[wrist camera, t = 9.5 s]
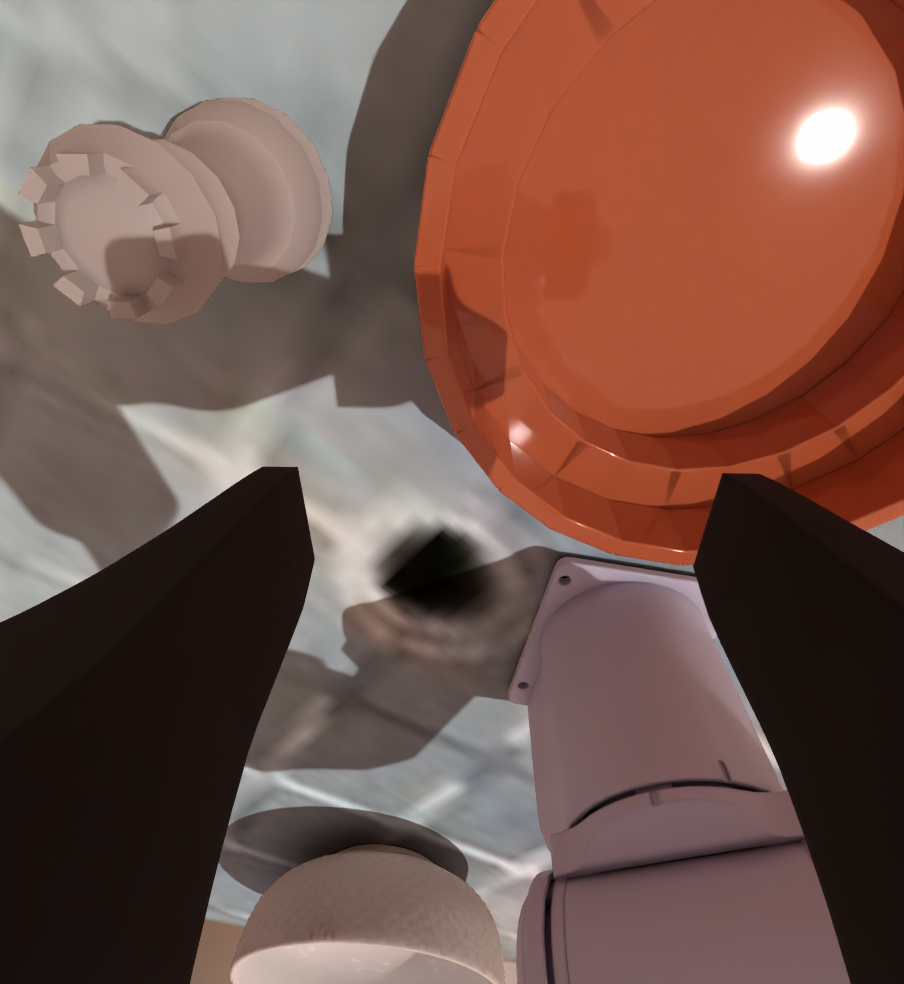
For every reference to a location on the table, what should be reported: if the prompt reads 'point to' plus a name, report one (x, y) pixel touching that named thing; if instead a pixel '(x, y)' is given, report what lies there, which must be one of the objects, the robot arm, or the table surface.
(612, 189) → the terracotta bowl
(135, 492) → the table surface
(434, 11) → the table surface
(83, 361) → the table surface
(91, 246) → the rook chess piece
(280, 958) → the cereal bowl
